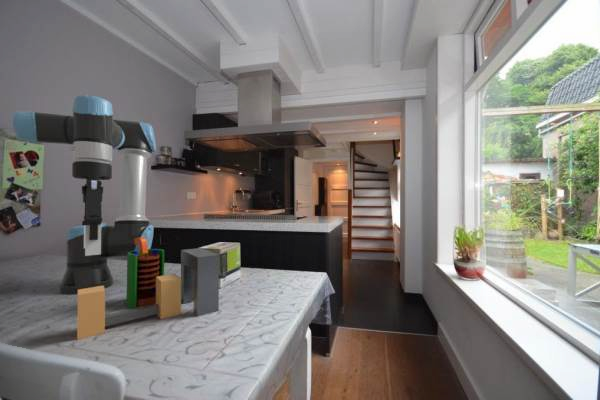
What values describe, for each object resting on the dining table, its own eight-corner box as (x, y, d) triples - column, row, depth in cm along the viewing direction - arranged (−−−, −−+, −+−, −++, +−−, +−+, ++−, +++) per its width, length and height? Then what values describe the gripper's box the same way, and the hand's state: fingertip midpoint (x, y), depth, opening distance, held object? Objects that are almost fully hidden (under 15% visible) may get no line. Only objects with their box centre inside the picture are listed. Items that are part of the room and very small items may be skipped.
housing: (180, 301, 84) (181, 250, 84) (199, 296, 88) (200, 248, 88) (197, 316, 72) (197, 257, 72) (218, 310, 76) (218, 254, 76)
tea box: (220, 276, 113) (220, 241, 113) (241, 278, 110) (241, 242, 110) (196, 286, 98) (196, 246, 99) (220, 289, 95) (220, 248, 96)
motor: (143, 309, 77) (144, 240, 77) (117, 307, 79) (118, 239, 79) (167, 297, 87) (168, 236, 87) (144, 295, 89) (144, 235, 89)
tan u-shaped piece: (77, 330, 64) (77, 289, 64) (174, 307, 78) (174, 273, 78) (77, 340, 60) (77, 295, 60) (180, 314, 74) (181, 278, 74)
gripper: (72, 167, 71) (71, 246, 71) (71, 152, 52) (70, 261, 52) (107, 169, 76) (106, 243, 76) (117, 156, 57) (116, 256, 56)
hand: (91, 251), depth 64 cm, fingers open, 13 cm apart
